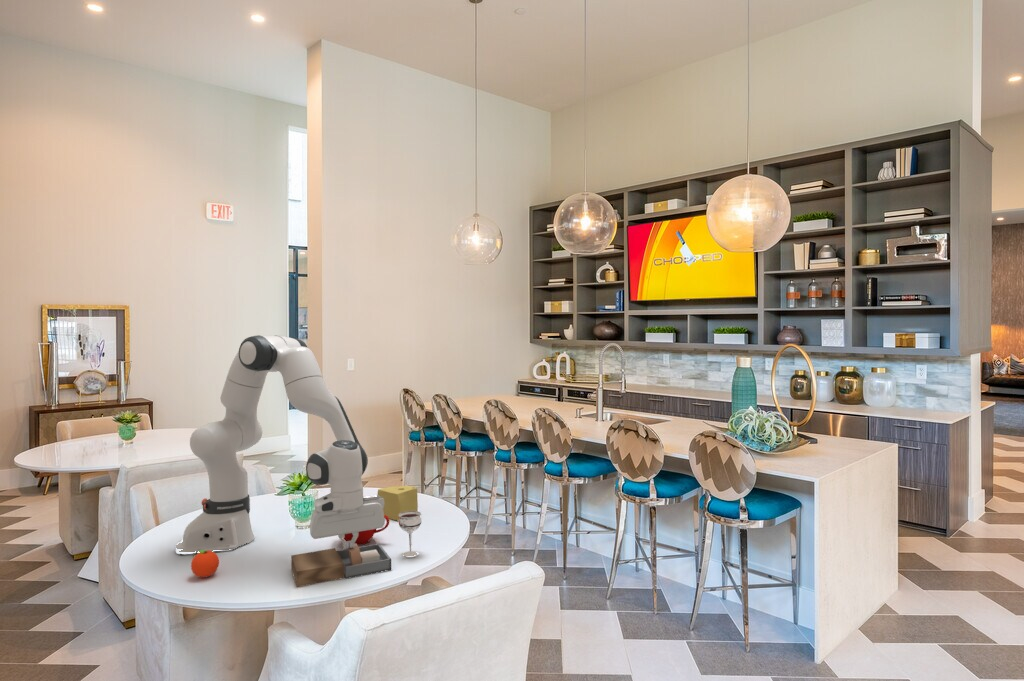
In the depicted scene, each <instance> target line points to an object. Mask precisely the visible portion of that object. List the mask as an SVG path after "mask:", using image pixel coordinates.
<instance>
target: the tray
mask: <svg viewBox="0 0 1024 681" xmlns="http://www.w3.org/2000/svg"><path fill="white" fill-rule="evenodd" d="M358 547H359V549H360V552H364V551H370V550H377V552H378V553H379V555H380V561H374V562H368V563H363V564H357V565H352V566H351V564H350V559H349V553H348V549H346V550H343V549H339V550H338V549H337V550H336V551H337V552H338V554H339V556H340V558H341V560H342V561H343V563H344V578H345V579H350V578H349V577H351V578H356V577H360V576H361V575H362V576H366V575H367V576H368V575H372V574H376V572H378V573H382V572H381V571H383V572H386V571H385V570H388V571H392V570H391V569H392V558H391V557H390V556H389V555H388V553H387V552H386V550H385V549H384V547H382V545H381V544H380V543H375V544H369V545H364V546H363V545H361V546H358ZM371 573H372V574H371ZM355 576H356V577H355Z"/></svg>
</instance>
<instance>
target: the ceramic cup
mask: <svg viewBox="0 0 1024 681" xmlns="http://www.w3.org/2000/svg"><path fill="white" fill-rule="evenodd" d="M384 519H385V520H386V524H385V525H384V526H383V527H382V528H378V529H372V530H366V531H360V532H358V535H359V536H358V537H357V539H356V541H355V544H357V546H363V545H366V544H368V543H369V542H370V541H371V539H372V538H373V537H374V536H375V534H378V533H380V532H383V531H385V530H387V528H388V527H389V525H390V519H389V518H388V516H386V515H384ZM352 538H353V534H352V533H348V534H345V538H343V540H344V541H345V542H346V541H351V540H352Z"/></svg>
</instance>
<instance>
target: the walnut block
mask: <svg viewBox="0 0 1024 681" xmlns="http://www.w3.org/2000/svg"><path fill="white" fill-rule="evenodd" d="M337 551H338V550H337V549H336V548H335V547H334V548H333V547H332V548H327V549H321V550H316V551H309V552H304V553H299V554H291V555H290V556H291V560H290V561H291V571H292V575H294V576H293V579H294V581H295V584H296V587H297V588H298V587H304V586H309V584H310V585H314V584H319V583H320V584H321V583H325V582H331V581H335V579H336V580H340V578H342V579H344V578H345V575H344V563H343V561H342V560H341V558H340V556H339V554H338V552H337Z"/></svg>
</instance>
